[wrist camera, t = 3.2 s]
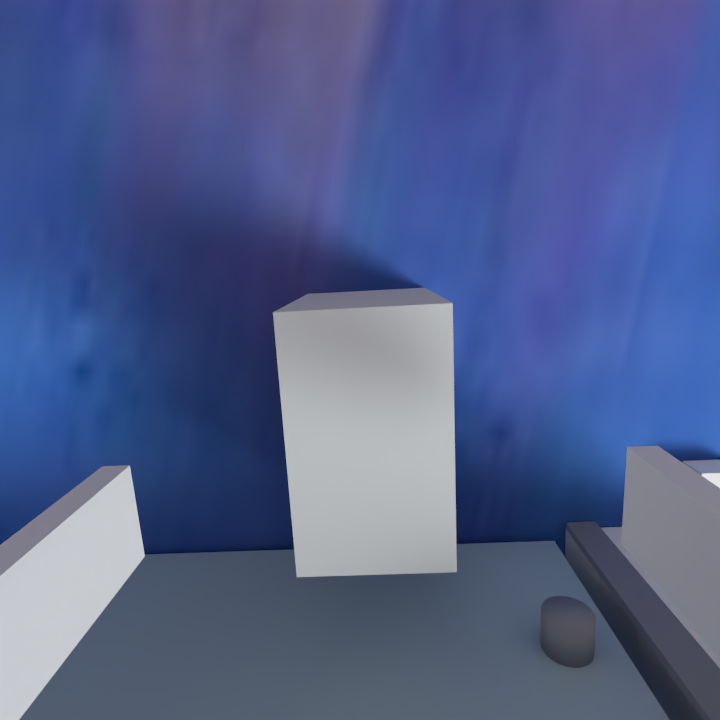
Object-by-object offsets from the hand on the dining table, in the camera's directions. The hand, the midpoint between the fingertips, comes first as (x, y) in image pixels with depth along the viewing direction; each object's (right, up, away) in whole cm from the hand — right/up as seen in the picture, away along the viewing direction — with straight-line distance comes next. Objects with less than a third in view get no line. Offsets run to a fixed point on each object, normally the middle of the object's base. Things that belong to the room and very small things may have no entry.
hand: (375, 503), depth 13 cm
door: (-3, -7, +15) cm, 16 cm away
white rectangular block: (0, +3, +13) cm, 13 cm away
